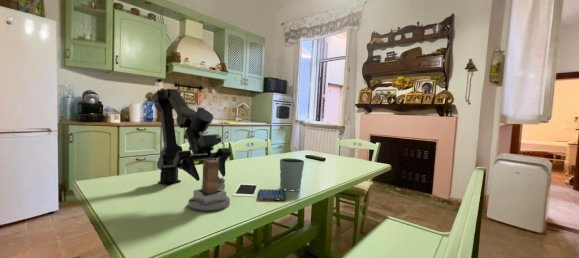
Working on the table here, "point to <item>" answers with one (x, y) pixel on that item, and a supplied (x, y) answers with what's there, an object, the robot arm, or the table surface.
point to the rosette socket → (208, 201)
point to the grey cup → (291, 173)
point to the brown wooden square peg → (210, 177)
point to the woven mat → (271, 194)
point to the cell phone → (246, 190)
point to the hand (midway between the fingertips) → (212, 178)
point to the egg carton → (221, 183)
